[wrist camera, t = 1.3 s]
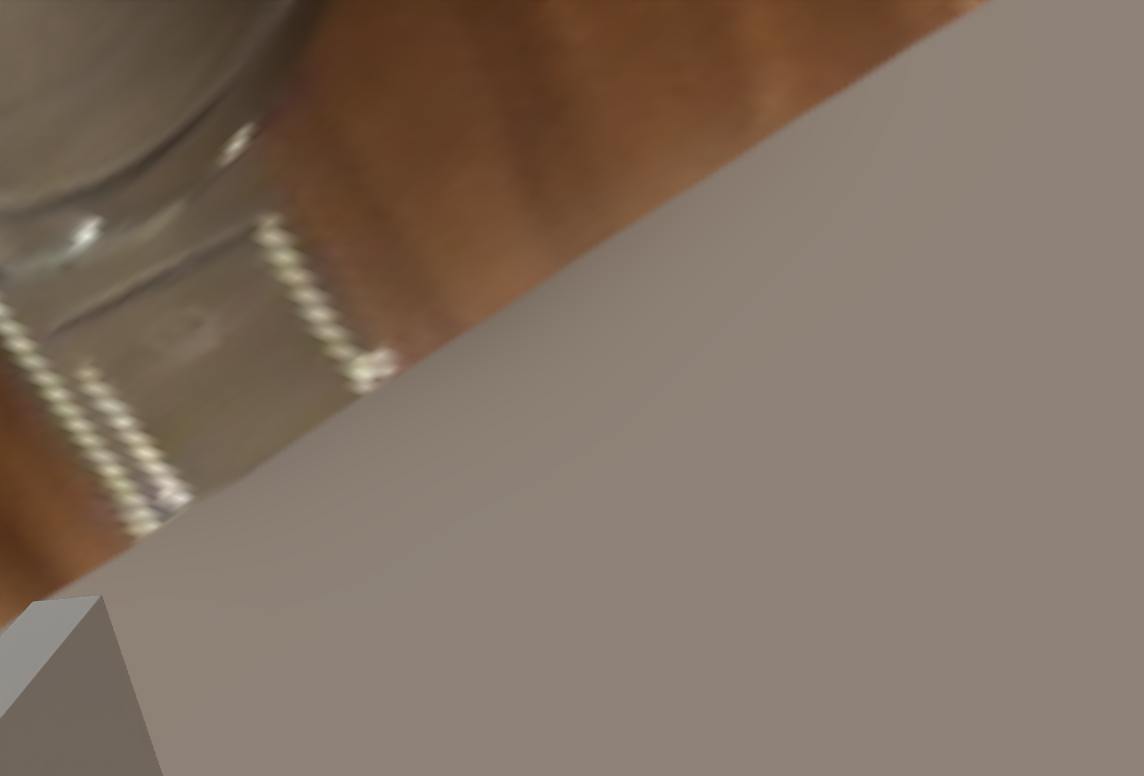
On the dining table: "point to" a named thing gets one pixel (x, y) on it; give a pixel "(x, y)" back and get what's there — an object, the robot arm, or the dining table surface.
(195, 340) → the dining table surface
